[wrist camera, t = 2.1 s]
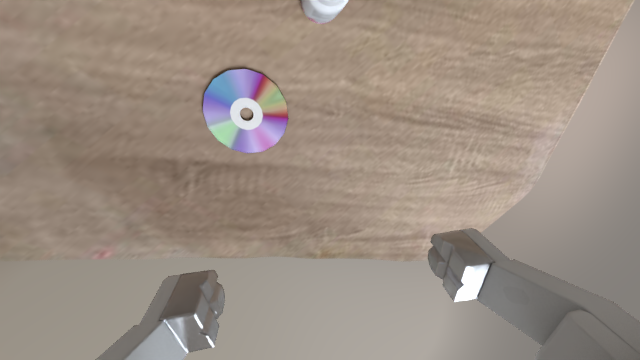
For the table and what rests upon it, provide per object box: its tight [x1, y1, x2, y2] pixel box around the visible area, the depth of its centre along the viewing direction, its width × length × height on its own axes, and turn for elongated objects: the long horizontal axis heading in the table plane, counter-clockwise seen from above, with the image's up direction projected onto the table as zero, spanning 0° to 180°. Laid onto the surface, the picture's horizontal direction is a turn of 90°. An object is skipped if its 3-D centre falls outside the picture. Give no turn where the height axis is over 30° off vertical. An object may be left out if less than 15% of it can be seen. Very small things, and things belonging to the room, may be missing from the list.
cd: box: [203, 69, 288, 153], centre depth 31 cm, size 11×11×1 cm
